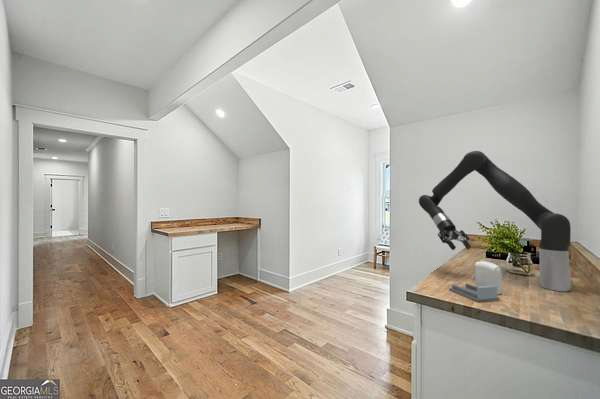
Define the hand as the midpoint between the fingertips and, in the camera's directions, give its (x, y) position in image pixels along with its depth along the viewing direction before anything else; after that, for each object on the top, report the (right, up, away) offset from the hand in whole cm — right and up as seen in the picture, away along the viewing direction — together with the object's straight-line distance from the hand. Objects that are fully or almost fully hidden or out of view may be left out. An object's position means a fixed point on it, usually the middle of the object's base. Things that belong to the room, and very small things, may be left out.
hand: (461, 248), depth 123 cm
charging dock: (-7, -16, -19) cm, 25 cm away
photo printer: (+3, -16, -13) cm, 21 cm away
